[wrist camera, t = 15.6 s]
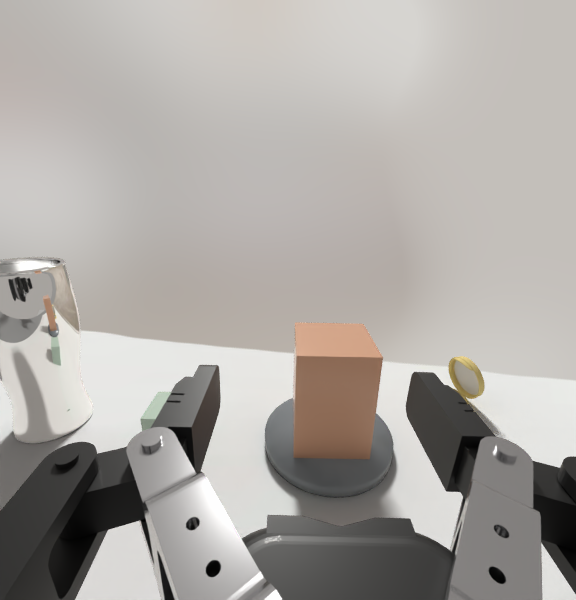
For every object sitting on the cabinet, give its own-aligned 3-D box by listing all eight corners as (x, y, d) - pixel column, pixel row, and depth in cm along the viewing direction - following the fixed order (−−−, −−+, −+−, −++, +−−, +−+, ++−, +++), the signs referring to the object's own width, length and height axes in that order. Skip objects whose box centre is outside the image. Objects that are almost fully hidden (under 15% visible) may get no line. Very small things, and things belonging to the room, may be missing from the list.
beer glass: (105, 423, 29) (73, 266, 24) (7, 462, 25) (-56, 280, 20) (91, 389, 34) (62, 253, 29) (8, 416, 30) (-43, 262, 25)
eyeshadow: (413, 391, 35) (419, 352, 33) (451, 386, 36) (459, 348, 34) (439, 417, 31) (448, 374, 29) (481, 411, 32) (492, 369, 30)
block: (146, 454, 26) (140, 418, 25) (162, 424, 29) (158, 391, 28) (189, 455, 26) (185, 419, 25) (201, 424, 29) (198, 392, 28)
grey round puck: (259, 495, 22) (259, 485, 22) (269, 400, 33) (269, 392, 32) (412, 498, 22) (414, 488, 22) (372, 402, 33) (373, 394, 32)
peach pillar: (293, 457, 24) (296, 355, 21) (292, 408, 30) (295, 322, 27) (369, 459, 24) (382, 357, 21) (354, 409, 30) (363, 323, 27)
